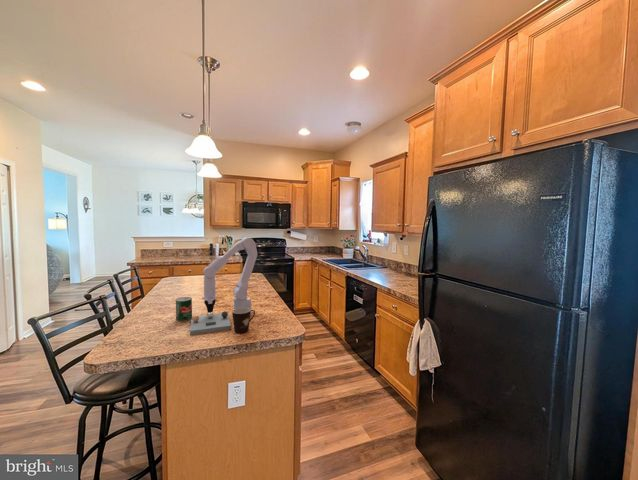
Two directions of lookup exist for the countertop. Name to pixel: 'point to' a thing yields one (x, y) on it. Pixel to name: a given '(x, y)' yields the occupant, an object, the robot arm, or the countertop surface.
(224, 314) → the black rubber ball
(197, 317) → the terracotta ball
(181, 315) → the canned tomato
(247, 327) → the coffee mug
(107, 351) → the countertop surface
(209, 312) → the steel ball
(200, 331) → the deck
